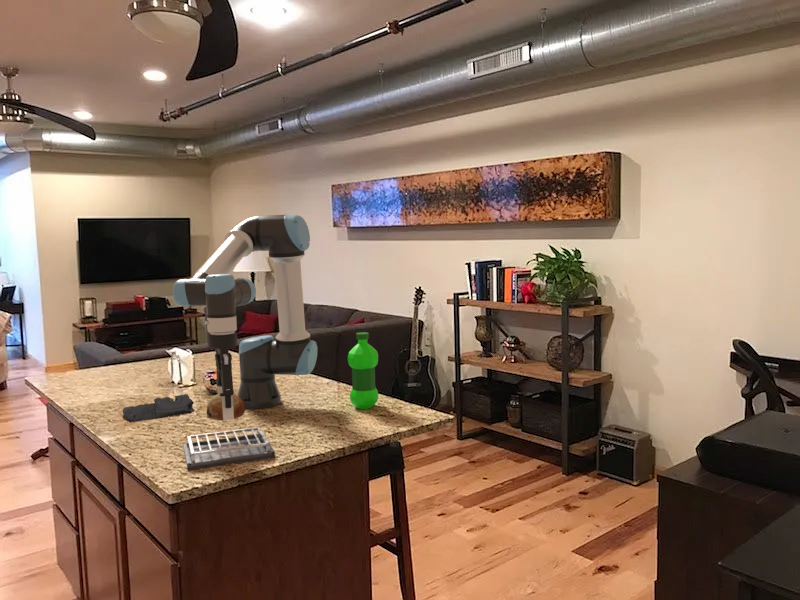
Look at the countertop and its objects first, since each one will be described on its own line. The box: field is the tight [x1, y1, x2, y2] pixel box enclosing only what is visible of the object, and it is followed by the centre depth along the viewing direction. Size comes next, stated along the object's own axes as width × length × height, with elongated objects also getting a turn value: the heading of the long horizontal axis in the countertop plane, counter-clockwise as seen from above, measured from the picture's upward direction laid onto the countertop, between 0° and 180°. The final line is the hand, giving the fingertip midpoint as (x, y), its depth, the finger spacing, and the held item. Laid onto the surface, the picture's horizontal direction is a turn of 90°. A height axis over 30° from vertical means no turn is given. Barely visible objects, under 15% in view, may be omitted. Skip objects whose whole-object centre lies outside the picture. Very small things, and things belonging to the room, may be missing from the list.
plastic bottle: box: [347, 331, 379, 410], centre depth 223 cm, size 10×10×25 cm
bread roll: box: [206, 393, 246, 421], centre depth 179 cm, size 10×10×8 cm
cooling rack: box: [182, 426, 276, 471], centre depth 180 cm, size 18×22×4 cm
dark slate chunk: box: [122, 393, 195, 423], centre depth 223 cm, size 15×22×5 cm
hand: (226, 414), depth 179 cm, fingers closed on bread roll, 10 cm apart
